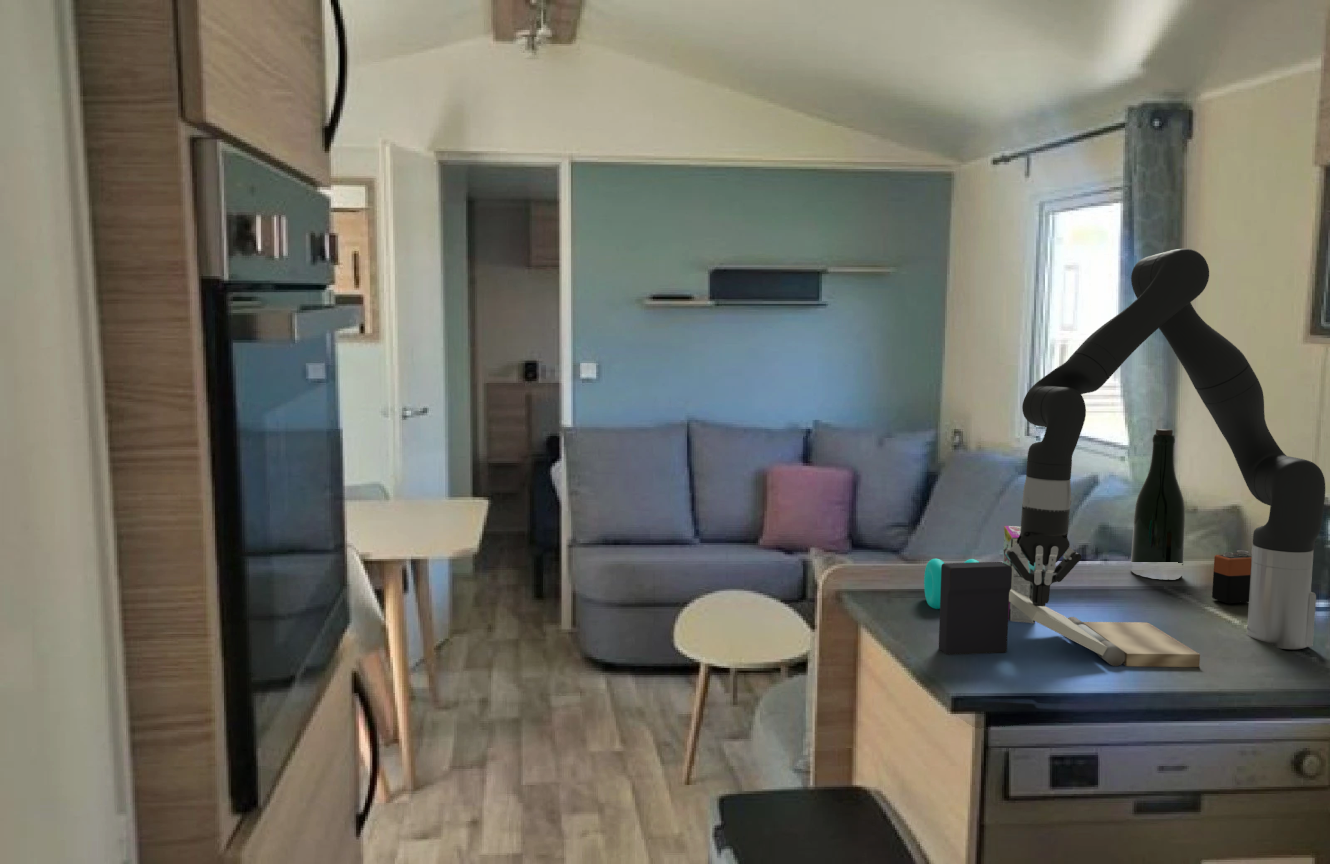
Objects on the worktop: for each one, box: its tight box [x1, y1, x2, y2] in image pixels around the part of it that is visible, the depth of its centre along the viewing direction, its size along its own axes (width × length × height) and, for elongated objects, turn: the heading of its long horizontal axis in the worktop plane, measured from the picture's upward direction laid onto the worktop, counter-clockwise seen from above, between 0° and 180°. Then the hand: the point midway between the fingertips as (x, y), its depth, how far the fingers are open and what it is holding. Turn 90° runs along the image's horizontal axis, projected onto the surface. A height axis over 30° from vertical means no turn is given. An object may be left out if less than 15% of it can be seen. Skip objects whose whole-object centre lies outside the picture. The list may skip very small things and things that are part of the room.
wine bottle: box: [1130, 428, 1186, 564], centre depth 222 cm, size 10×10×33 cm
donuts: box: [923, 558, 980, 610], centre depth 195 cm, size 10×10×10 cm
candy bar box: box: [1002, 525, 1036, 624], centre depth 191 cm, size 11×5×16 cm, turn 168°
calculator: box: [938, 561, 1012, 656], centre depth 169 cm, size 11×4×15 cm, turn 100°
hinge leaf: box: [1009, 589, 1107, 656], centre depth 171 cm, size 16×18×3 cm
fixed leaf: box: [1067, 616, 1201, 668], centre depth 171 cm, size 15×18×3 cm
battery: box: [1211, 550, 1252, 604], centre depth 204 cm, size 4×7×10 cm, turn 104°
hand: (1038, 605), depth 171 cm, fingers closed
